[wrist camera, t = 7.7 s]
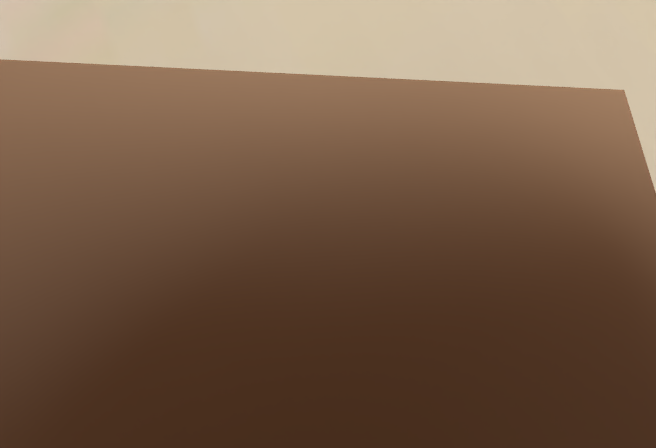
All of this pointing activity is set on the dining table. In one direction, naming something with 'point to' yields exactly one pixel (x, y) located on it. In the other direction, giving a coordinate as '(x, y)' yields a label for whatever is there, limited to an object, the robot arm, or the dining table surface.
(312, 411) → the walnut block
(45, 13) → the dining table surface
